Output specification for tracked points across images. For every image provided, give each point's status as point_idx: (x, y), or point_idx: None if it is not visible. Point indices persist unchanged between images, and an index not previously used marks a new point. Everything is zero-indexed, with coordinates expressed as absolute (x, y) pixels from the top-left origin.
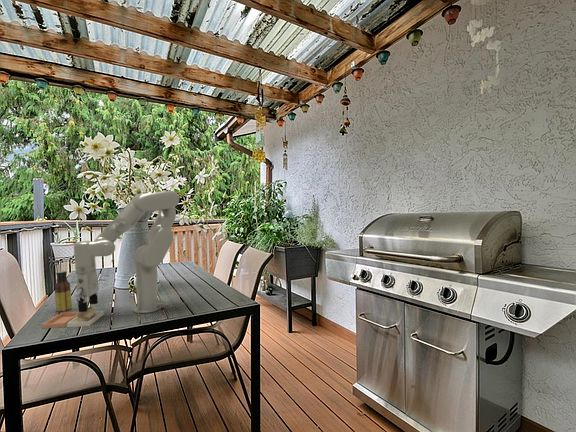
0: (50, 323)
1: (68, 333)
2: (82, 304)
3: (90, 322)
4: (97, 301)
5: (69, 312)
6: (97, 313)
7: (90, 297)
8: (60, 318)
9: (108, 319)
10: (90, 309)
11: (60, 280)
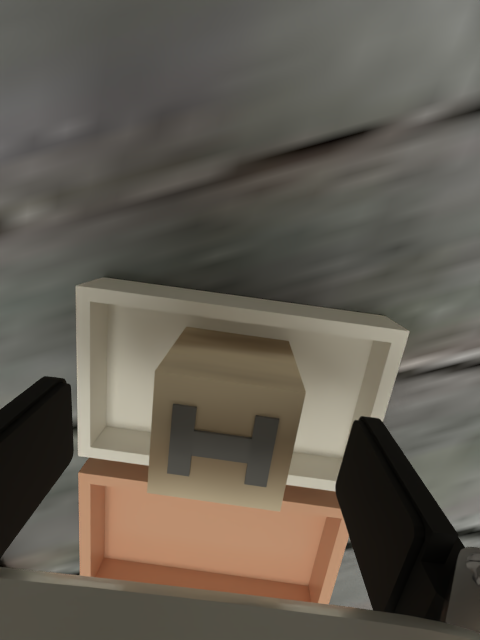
0: (324, 590)
1: (449, 425)
2: (453, 550)
3: (375, 322)
4: (34, 390)
5: (80, 549)
6: (99, 336)
7: (1, 538)
8: (138, 558)
9: (207, 207)
10: (252, 398)
11: None
